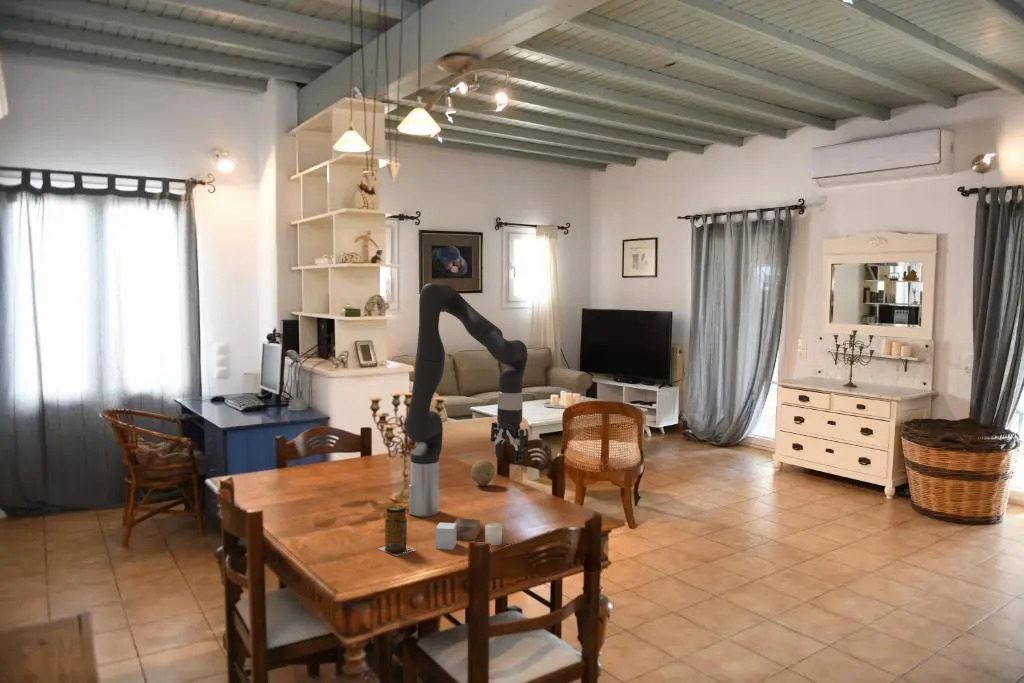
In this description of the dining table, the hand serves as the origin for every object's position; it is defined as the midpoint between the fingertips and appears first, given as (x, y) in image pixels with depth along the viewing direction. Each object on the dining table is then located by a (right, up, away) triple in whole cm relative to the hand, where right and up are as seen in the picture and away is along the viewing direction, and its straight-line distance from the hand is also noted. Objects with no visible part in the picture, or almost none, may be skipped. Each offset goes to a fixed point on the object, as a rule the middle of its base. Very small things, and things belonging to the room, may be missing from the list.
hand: (508, 459), depth 223 cm
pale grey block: (-18, -23, -12) cm, 31 cm away
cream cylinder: (-4, -23, -8) cm, 25 cm away
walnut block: (-13, -23, -2) cm, 26 cm away
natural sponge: (-10, -18, +51) cm, 55 cm away
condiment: (-31, -23, -15) cm, 42 cm away
